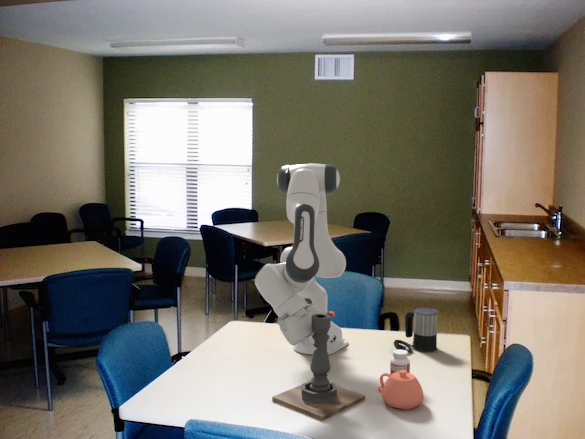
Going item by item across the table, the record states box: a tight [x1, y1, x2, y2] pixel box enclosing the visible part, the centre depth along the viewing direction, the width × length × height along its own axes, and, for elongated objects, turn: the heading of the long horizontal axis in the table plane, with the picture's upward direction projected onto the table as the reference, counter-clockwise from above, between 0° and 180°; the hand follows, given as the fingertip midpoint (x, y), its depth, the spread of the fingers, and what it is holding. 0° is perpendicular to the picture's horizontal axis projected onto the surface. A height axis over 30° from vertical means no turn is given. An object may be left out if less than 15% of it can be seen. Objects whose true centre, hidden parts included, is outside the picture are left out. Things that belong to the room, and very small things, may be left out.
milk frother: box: [393, 307, 439, 354], centre depth 233 cm, size 14×16×15 cm
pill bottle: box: [389, 349, 411, 375], centre depth 200 cm, size 6×6×11 cm
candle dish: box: [271, 380, 366, 421], centre depth 188 cm, size 20×20×4 cm
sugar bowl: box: [377, 370, 424, 411], centre depth 185 cm, size 12×14×10 cm
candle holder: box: [309, 314, 332, 392], centre depth 186 cm, size 6×6×25 cm
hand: (321, 346), depth 186 cm, fingers open, 7 cm apart
